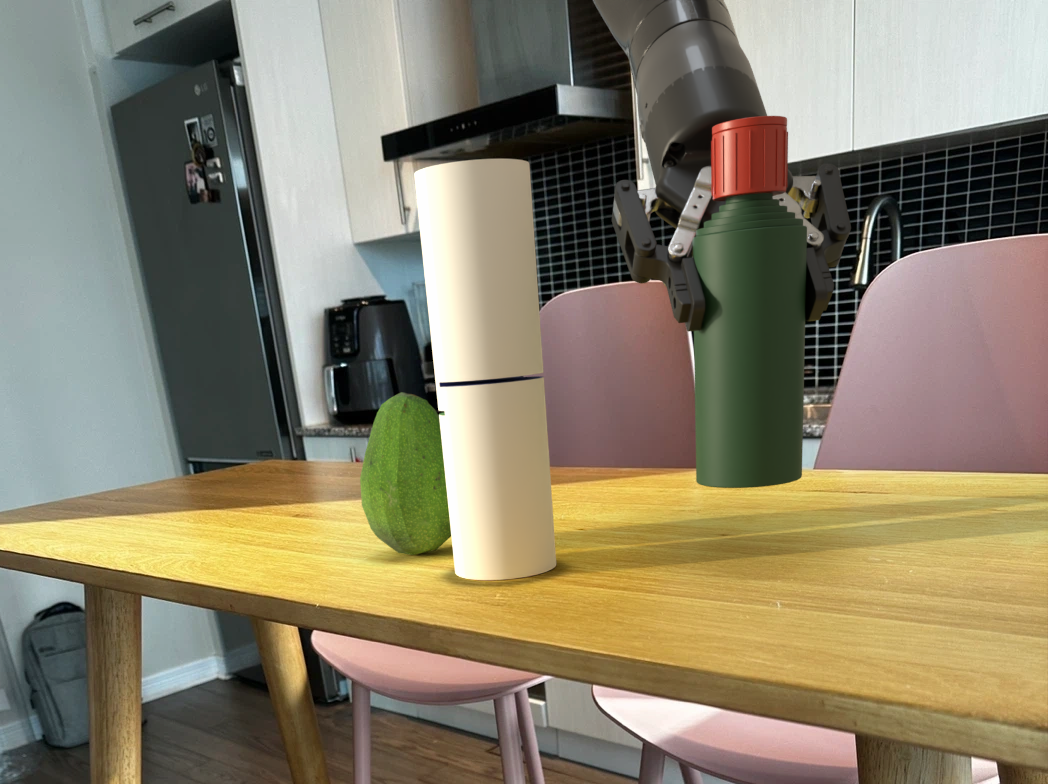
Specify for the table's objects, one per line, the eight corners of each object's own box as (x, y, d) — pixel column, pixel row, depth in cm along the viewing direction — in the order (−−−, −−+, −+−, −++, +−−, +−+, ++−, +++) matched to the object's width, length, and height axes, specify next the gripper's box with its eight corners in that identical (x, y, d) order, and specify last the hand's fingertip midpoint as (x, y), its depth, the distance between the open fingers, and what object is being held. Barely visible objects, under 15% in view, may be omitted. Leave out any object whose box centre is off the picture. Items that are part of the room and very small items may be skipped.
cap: (757, 199, 61) (758, 129, 59) (801, 189, 57) (803, 114, 56) (698, 202, 59) (697, 131, 58) (739, 192, 56) (739, 115, 54)
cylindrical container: (498, 584, 67) (460, 156, 59) (435, 572, 73) (391, 177, 64) (577, 563, 72) (553, 160, 63) (512, 552, 77) (481, 179, 68)
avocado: (431, 566, 75) (411, 394, 71) (349, 562, 79) (326, 399, 75) (491, 543, 81) (476, 384, 77) (412, 541, 85) (394, 389, 81)
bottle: (760, 468, 68) (762, 142, 61) (823, 477, 62) (834, 120, 55) (677, 480, 66) (669, 145, 59) (734, 492, 60) (733, 122, 53)
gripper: (595, 71, 62) (642, 273, 55) (828, 53, 63) (903, 250, 56) (586, 181, 69) (627, 373, 62) (796, 164, 69) (859, 352, 63)
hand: (757, 314), depth 59 cm, fingers closed on bottle, 6 cm apart
